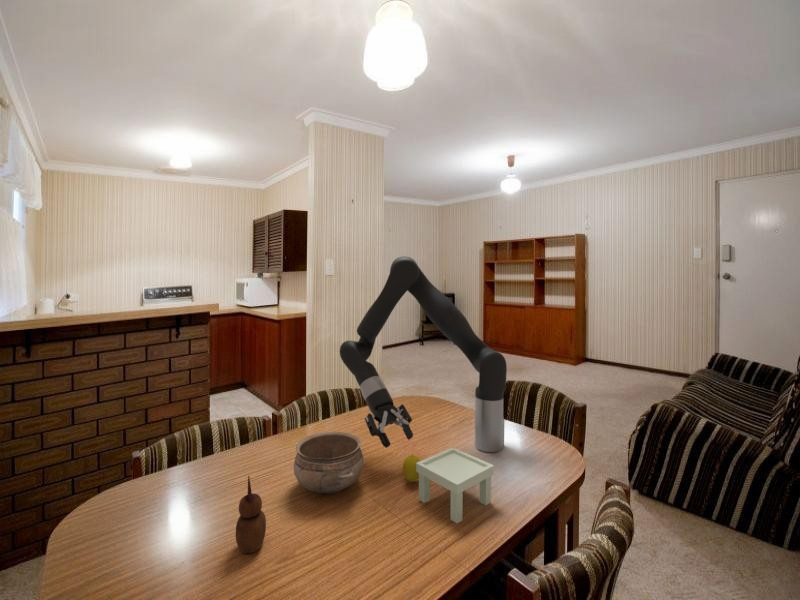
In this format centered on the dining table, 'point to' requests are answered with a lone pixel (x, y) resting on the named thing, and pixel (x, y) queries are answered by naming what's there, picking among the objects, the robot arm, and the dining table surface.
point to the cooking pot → (328, 461)
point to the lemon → (410, 468)
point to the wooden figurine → (250, 523)
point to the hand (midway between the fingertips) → (399, 442)
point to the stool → (455, 477)
